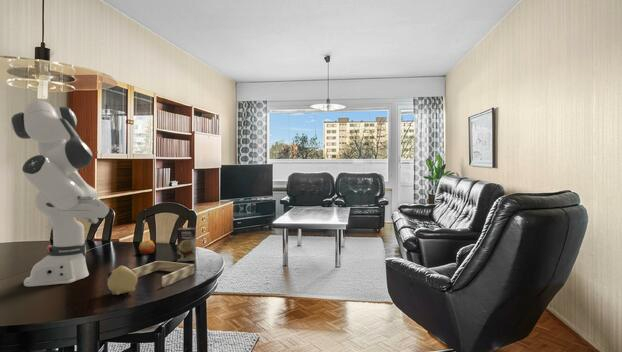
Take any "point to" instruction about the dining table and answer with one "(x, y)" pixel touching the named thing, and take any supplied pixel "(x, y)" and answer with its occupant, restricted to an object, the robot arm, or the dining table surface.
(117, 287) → the yellow animal toy
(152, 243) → the fruit
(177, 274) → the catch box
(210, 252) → the dining table surface
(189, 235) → the coffee box
